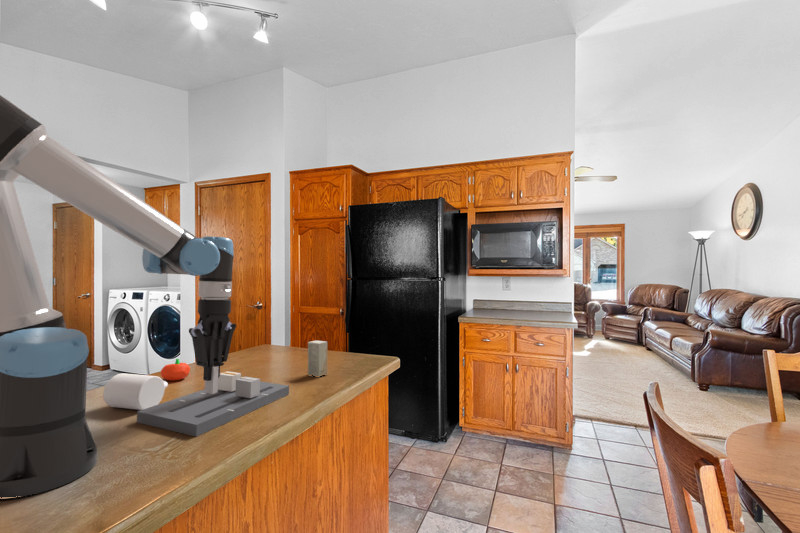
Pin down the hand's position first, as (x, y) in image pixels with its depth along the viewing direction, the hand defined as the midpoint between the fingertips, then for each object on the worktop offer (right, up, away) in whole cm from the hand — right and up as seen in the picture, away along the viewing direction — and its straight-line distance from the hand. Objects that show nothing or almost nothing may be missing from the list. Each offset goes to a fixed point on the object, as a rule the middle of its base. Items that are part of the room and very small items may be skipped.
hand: (210, 392), depth 97 cm
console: (+3, -4, 0) cm, 4 cm away
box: (+20, -5, +30) cm, 37 cm away
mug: (-17, -3, 0) cm, 18 cm away
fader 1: (+2, -1, +5) cm, 6 cm away
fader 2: (+9, -1, 0) cm, 9 cm away
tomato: (-22, -4, +22) cm, 31 cm away
